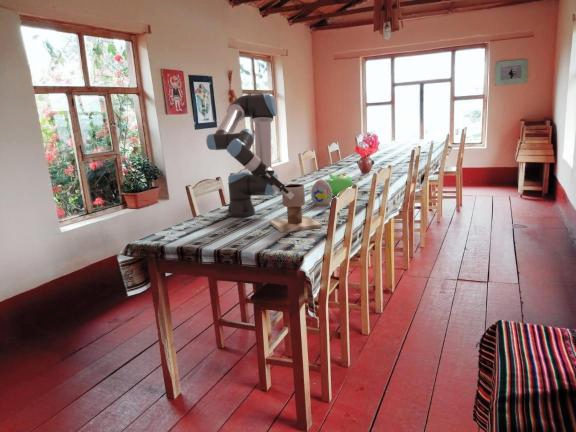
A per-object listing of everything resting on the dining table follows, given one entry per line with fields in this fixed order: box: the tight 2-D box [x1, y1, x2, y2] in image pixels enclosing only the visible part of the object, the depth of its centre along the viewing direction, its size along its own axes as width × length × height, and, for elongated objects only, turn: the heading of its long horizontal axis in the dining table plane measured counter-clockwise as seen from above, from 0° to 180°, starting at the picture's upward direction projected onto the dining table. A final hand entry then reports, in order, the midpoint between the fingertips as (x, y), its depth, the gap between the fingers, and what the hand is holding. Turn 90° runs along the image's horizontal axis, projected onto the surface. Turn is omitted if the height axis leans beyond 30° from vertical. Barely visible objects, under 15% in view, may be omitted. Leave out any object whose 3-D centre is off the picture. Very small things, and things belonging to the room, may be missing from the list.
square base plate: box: [269, 206, 323, 233], centre depth 223 cm, size 20×20×10 cm
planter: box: [281, 183, 306, 208], centre depth 221 cm, size 11×11×10 cm
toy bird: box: [324, 172, 355, 197], centre depth 290 cm, size 18×17×15 cm
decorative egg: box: [310, 179, 333, 207], centre depth 268 cm, size 12×12×15 cm
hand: (287, 194), depth 220 cm, fingers open, 13 cm apart
